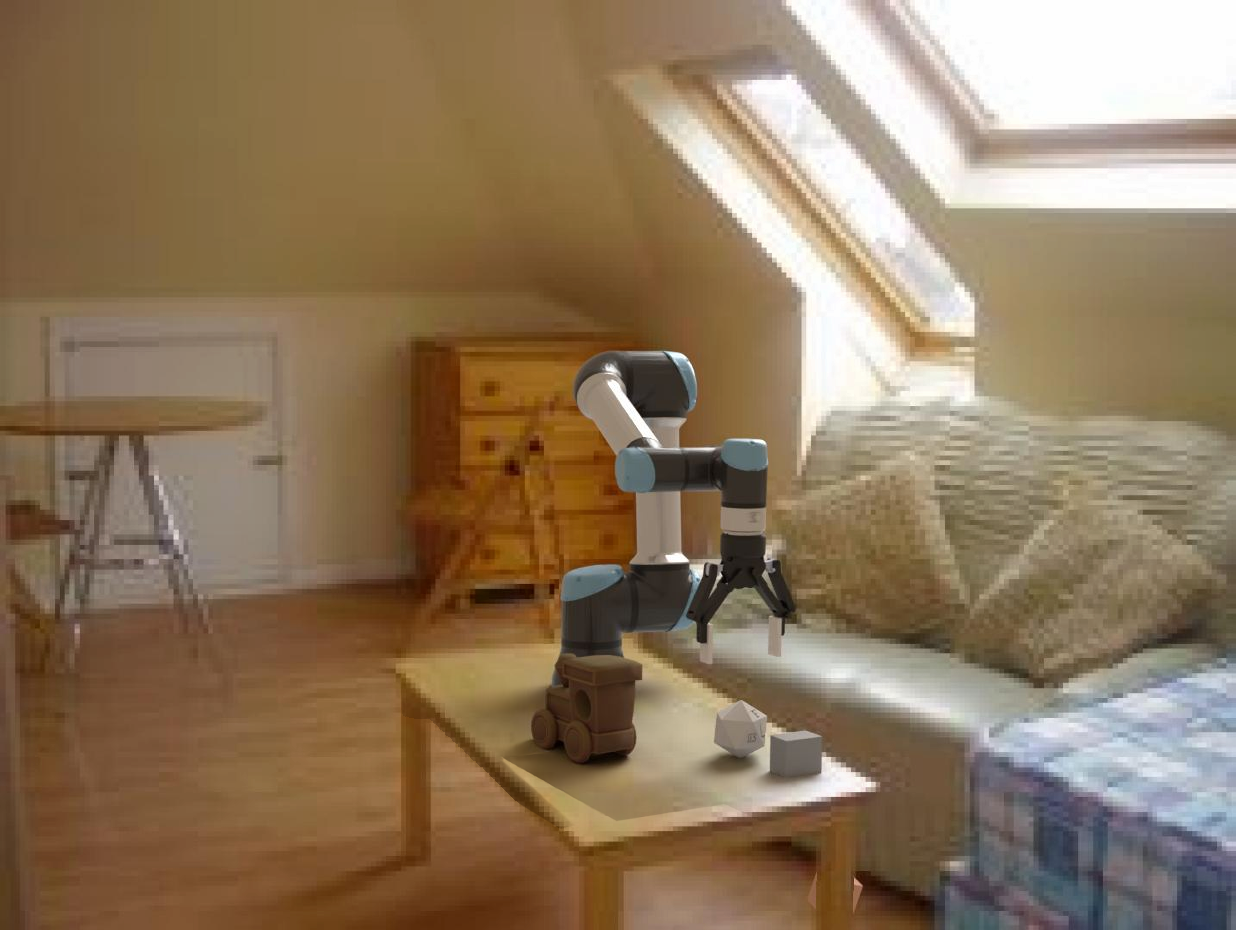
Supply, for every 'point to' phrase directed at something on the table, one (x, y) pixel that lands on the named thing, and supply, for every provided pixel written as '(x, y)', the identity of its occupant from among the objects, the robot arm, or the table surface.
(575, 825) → the table surface
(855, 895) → the salmon pink block
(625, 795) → the table surface
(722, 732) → the die
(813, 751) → the gray rectangular block
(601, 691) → the wooden toy train
